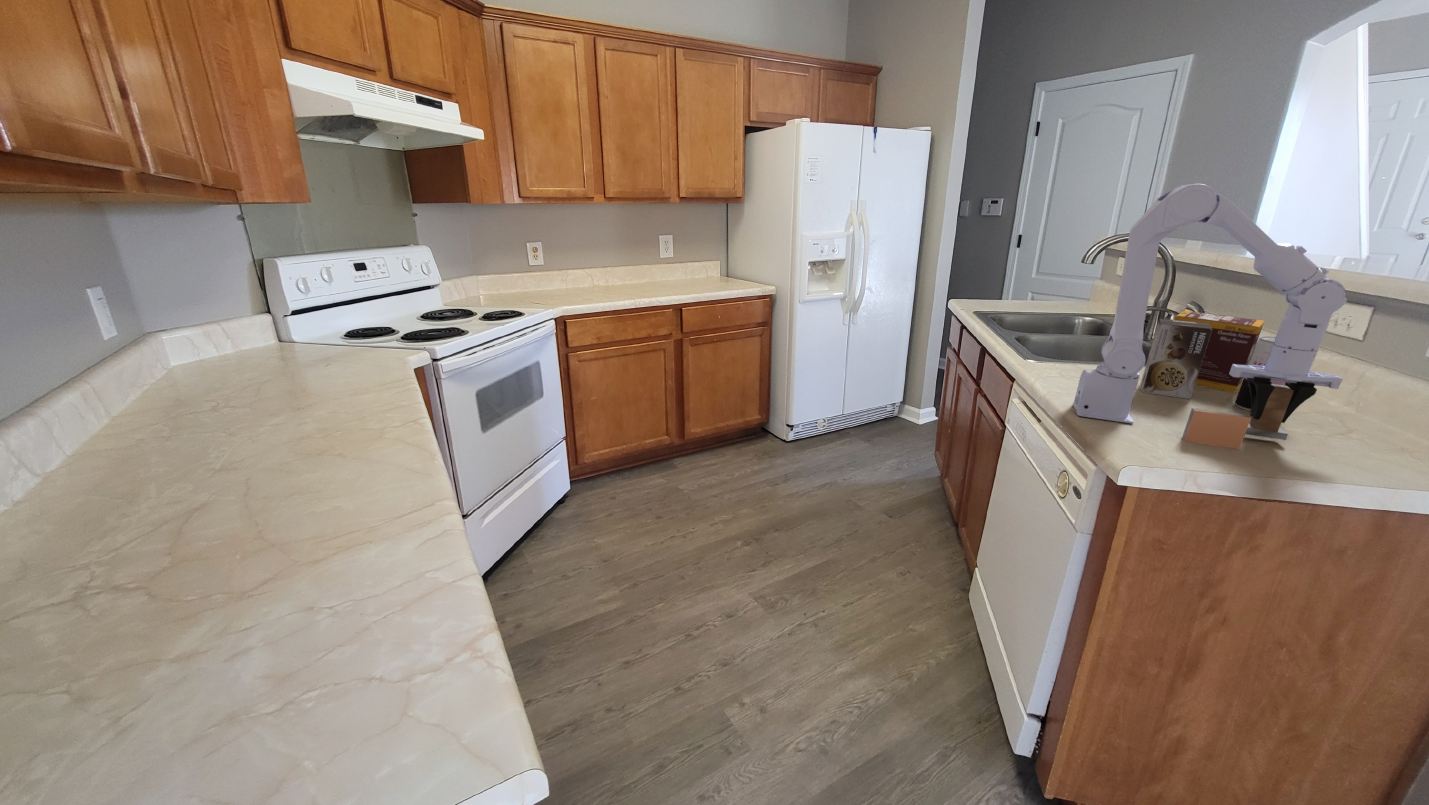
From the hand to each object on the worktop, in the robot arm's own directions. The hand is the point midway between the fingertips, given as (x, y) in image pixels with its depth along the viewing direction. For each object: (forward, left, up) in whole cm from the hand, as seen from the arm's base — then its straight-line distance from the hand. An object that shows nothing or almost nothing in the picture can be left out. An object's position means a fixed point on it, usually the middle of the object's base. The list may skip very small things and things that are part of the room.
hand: (1266, 419), depth 104 cm
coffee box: (-9, +25, -4) cm, 27 cm away
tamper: (0, 0, -3) cm, 3 cm away
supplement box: (+1, +40, -4) cm, 40 cm away
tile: (-9, -6, -4) cm, 12 cm away
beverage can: (+6, +21, -4) cm, 22 cm away
